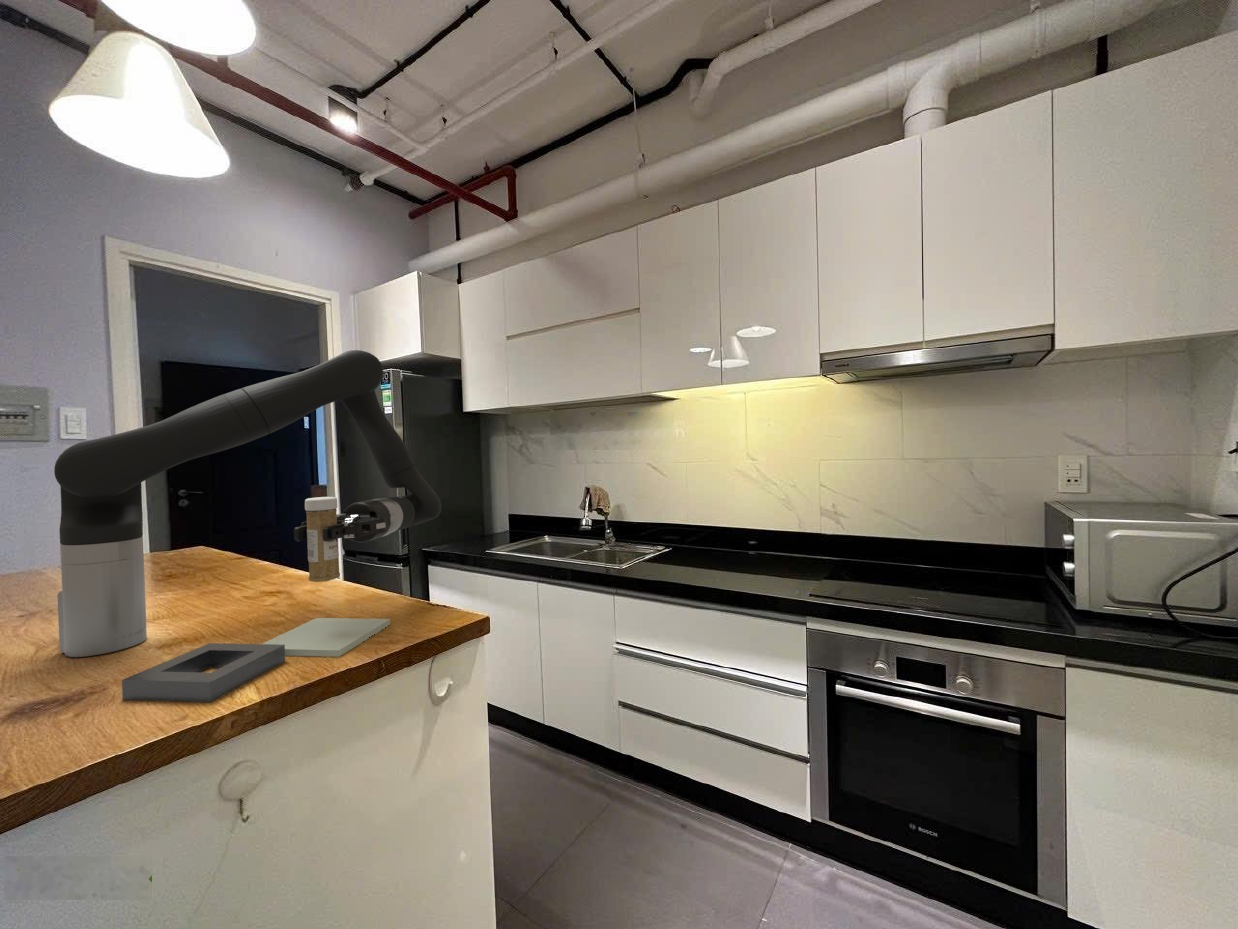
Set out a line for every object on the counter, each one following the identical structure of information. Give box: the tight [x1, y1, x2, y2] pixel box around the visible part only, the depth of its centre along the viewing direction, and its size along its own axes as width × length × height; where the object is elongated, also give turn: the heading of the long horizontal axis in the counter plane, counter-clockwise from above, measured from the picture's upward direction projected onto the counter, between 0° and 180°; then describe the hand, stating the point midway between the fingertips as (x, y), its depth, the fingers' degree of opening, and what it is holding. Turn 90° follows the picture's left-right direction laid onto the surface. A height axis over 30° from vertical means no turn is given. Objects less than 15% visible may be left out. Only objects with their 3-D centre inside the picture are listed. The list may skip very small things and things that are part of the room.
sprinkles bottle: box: [304, 496, 341, 583], centre depth 81 cm, size 5×5×14 cm
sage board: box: [262, 617, 391, 658], centre depth 82 cm, size 14×14×1 cm
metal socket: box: [121, 642, 286, 703], centre depth 67 cm, size 12×12×2 cm
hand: (310, 534), depth 78 cm, fingers closed on sprinkles bottle, 4 cm apart
